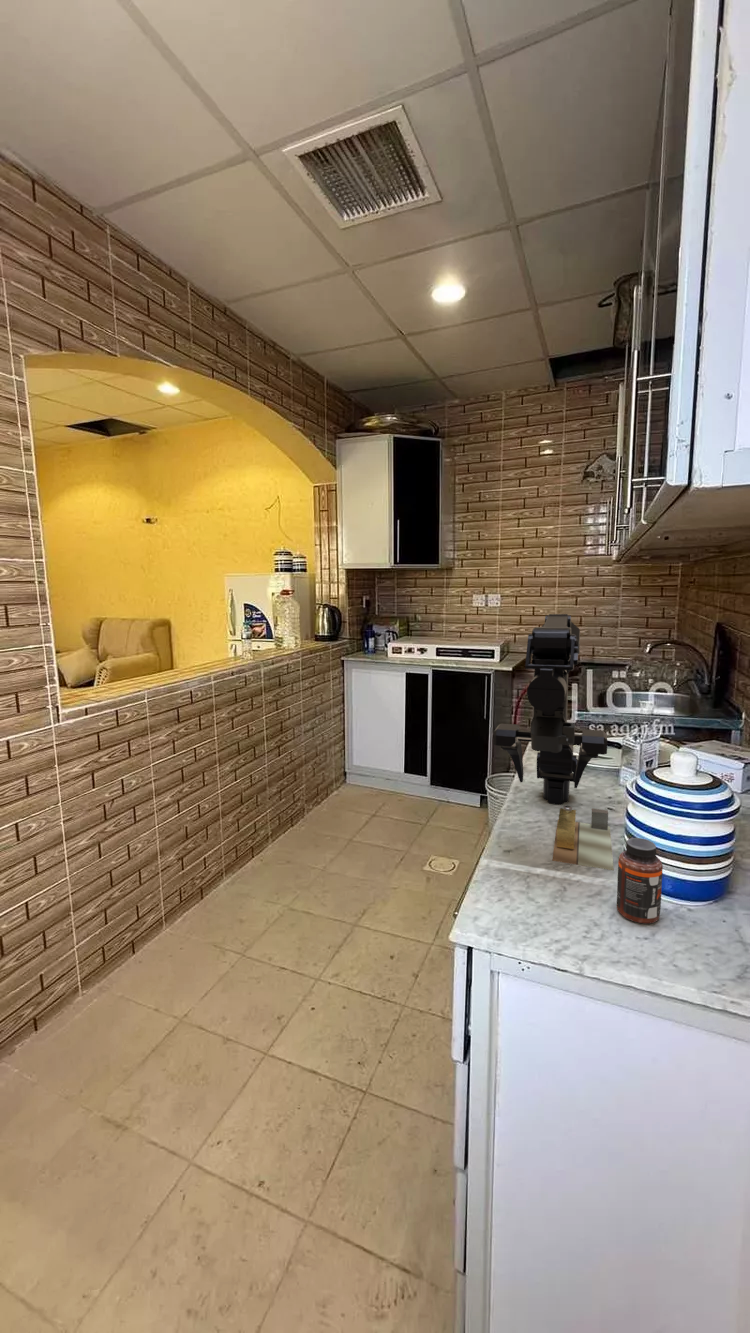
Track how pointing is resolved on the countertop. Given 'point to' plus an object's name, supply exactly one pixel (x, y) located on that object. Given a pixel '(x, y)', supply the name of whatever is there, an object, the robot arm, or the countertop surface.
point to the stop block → (599, 819)
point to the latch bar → (566, 828)
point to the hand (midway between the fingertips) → (548, 784)
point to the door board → (587, 848)
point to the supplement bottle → (639, 882)
